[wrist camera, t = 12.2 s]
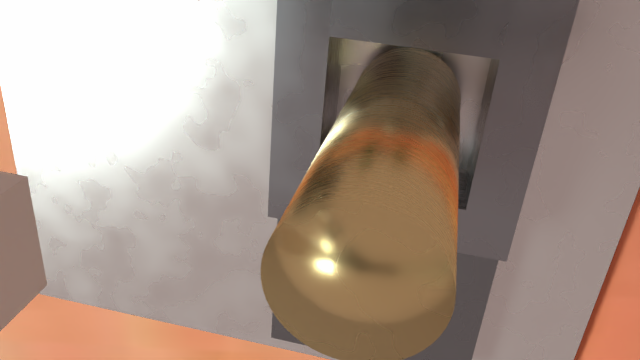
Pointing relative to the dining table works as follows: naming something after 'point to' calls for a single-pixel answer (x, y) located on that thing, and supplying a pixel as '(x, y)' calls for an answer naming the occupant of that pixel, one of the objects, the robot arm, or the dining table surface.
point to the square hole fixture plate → (304, 143)
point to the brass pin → (375, 219)
